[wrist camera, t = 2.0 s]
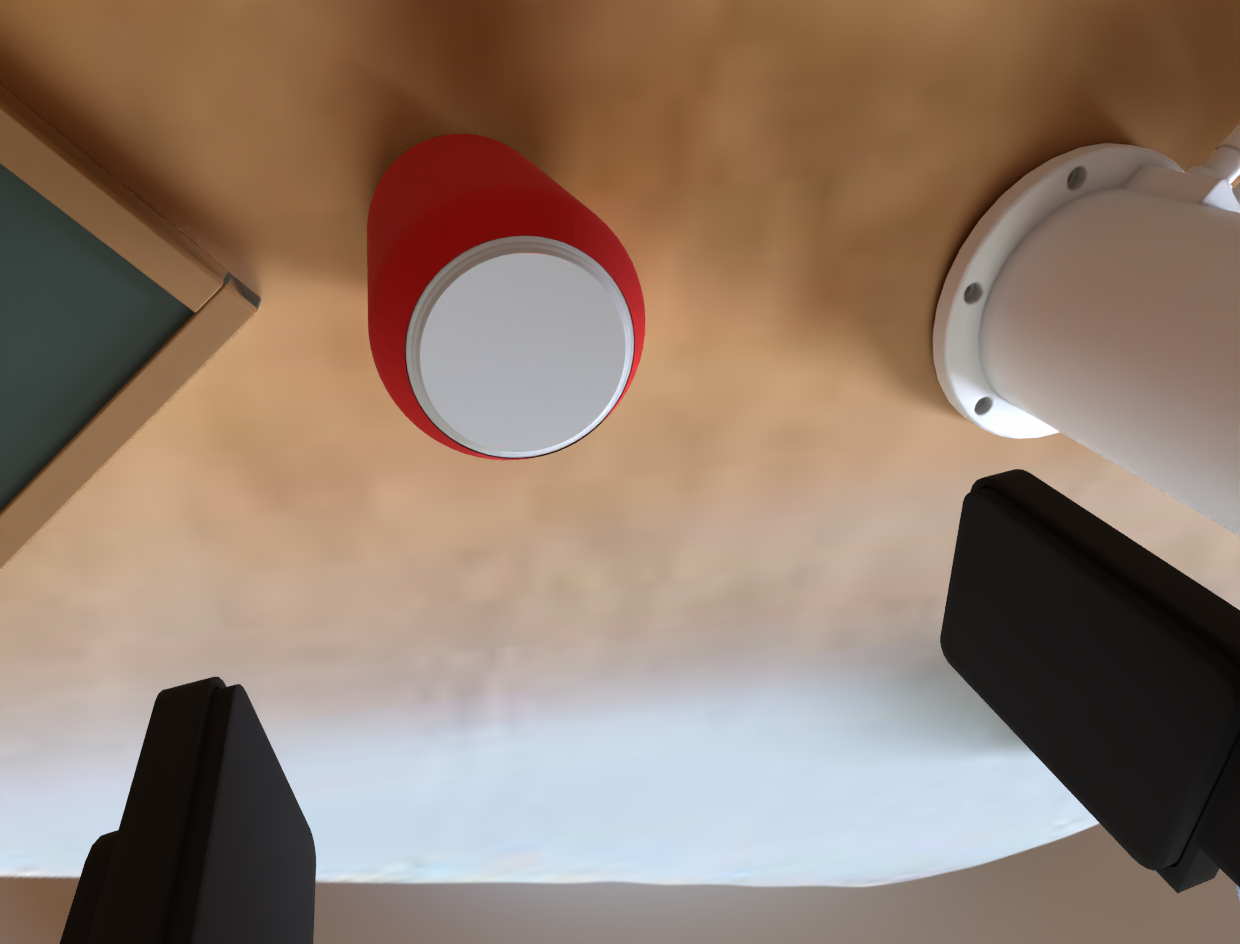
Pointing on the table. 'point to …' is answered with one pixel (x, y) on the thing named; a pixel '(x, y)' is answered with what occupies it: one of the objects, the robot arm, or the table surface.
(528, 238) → the beverage can
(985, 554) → the robot arm
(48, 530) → the table surface
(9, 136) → the chalkboard
